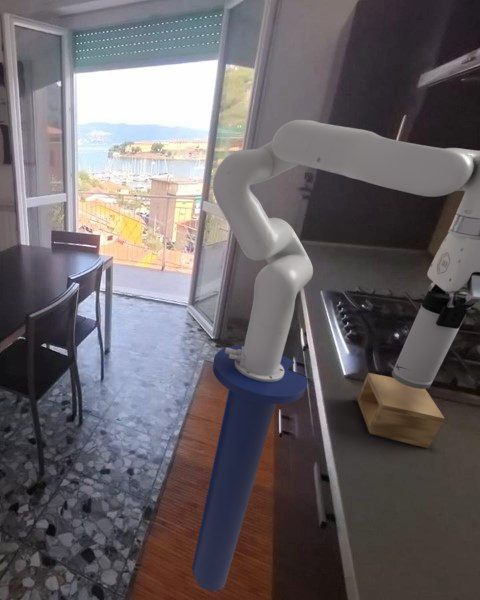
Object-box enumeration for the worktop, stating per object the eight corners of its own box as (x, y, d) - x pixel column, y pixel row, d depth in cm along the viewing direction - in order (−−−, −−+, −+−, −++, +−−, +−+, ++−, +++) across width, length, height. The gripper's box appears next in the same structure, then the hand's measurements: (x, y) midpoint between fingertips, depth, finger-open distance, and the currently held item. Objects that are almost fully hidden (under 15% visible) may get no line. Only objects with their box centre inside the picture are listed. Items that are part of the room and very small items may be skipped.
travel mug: (388, 380, 75) (425, 294, 67) (394, 367, 79) (430, 285, 71) (427, 394, 71) (472, 304, 63) (432, 380, 75) (475, 294, 67)
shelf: (369, 433, 77) (382, 404, 74) (357, 399, 87) (367, 372, 84) (428, 448, 74) (445, 418, 70) (408, 411, 84) (421, 383, 80)
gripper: (433, 216, 70) (399, 298, 78) (477, 237, 56) (431, 335, 64) (483, 218, 67) (444, 303, 75) (544, 242, 53) (488, 344, 61)
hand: (438, 317), depth 69 cm, fingers closed on travel mug, 6 cm apart
